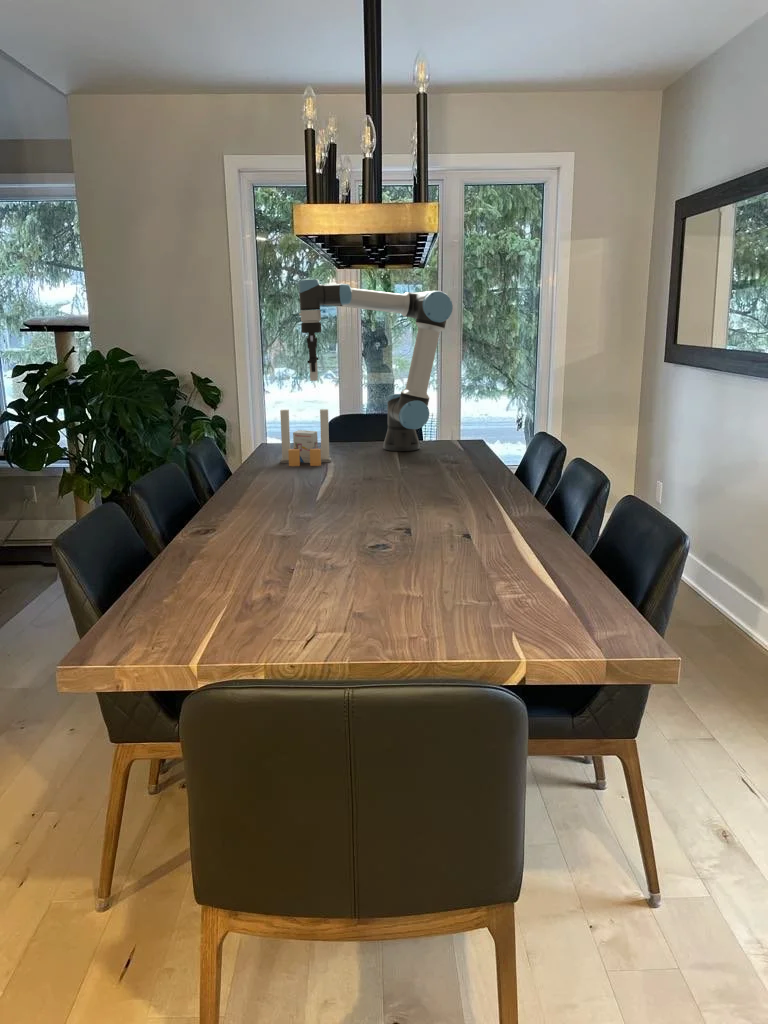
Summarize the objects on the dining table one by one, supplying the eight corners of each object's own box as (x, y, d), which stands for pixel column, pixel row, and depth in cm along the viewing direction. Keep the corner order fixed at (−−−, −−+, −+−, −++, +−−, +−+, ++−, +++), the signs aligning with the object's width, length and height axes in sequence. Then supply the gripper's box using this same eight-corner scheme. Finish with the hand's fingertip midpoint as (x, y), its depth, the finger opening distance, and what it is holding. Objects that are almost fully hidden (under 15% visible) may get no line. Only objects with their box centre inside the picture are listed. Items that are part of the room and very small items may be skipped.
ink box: (293, 462, 295) (292, 431, 292) (298, 459, 300) (297, 429, 297) (313, 463, 293) (313, 432, 290) (318, 461, 297) (317, 430, 294)
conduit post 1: (292, 460, 298) (290, 409, 293) (291, 462, 294) (290, 410, 289) (281, 460, 298) (279, 409, 293) (280, 463, 294) (278, 410, 289)
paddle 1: (300, 464, 291) (299, 448, 289) (299, 466, 288) (299, 450, 286) (289, 464, 291) (288, 449, 289) (288, 466, 288) (288, 450, 286)
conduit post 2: (331, 460, 299) (330, 408, 294) (331, 462, 295) (329, 410, 289) (319, 460, 299) (318, 409, 294) (319, 462, 294) (318, 410, 289)
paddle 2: (321, 464, 291) (320, 448, 290) (320, 465, 288) (320, 449, 287) (310, 464, 291) (310, 448, 289) (310, 465, 288) (309, 450, 287)
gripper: (301, 321, 299) (305, 376, 305) (299, 322, 275) (303, 382, 281) (321, 321, 300) (324, 375, 305) (320, 322, 276) (324, 381, 281)
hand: (314, 379), depth 293 cm, fingers open, 13 cm apart
